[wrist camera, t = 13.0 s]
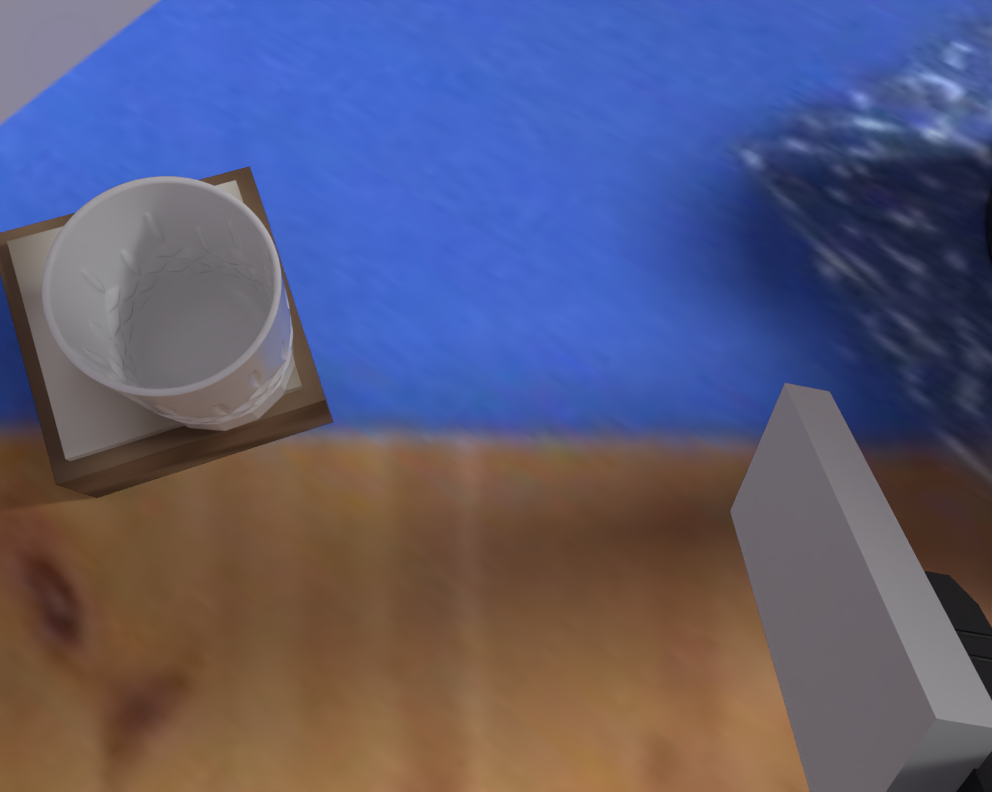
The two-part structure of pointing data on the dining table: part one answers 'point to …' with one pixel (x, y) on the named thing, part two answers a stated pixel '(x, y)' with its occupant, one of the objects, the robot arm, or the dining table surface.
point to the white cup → (173, 301)
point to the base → (114, 418)
